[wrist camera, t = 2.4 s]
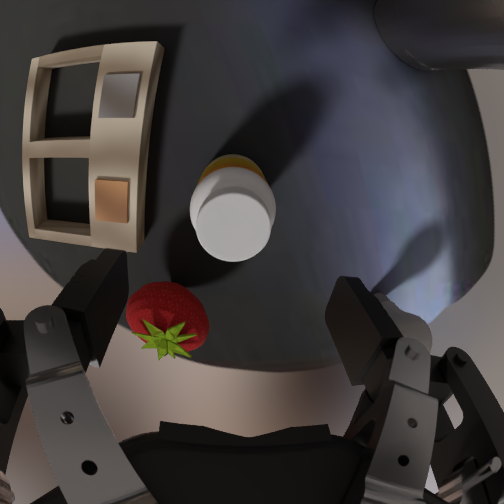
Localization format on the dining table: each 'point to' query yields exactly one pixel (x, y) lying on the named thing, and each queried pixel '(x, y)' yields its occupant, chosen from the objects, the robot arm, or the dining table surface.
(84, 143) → the socket plate
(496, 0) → the robot arm
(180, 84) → the dining table surface
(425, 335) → the lightbulb
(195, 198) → the supplement bottle
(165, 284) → the strawberry
